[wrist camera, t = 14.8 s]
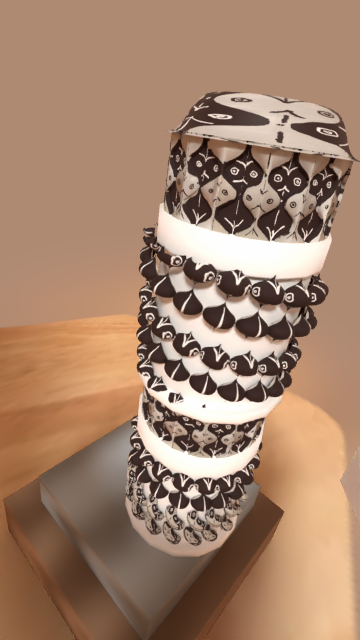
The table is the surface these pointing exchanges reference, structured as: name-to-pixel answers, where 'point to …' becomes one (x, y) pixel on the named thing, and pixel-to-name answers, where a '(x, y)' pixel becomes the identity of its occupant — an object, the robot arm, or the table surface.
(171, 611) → the tower base
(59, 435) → the table surface
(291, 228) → the patterned studded column
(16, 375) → the table surface
